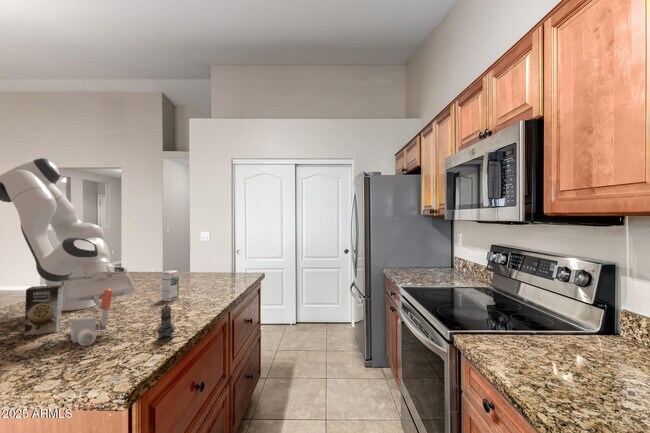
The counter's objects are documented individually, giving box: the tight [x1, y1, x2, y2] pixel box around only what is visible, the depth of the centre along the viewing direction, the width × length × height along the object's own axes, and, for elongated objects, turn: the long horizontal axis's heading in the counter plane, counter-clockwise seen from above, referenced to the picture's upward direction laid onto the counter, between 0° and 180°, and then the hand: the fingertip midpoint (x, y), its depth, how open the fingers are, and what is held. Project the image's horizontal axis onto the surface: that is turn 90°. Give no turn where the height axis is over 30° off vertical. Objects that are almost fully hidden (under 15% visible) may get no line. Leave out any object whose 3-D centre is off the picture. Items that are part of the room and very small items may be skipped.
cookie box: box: [23, 284, 62, 336], centre depth 117 cm, size 9×6×16 cm
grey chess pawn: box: [156, 303, 176, 342], centre depth 111 cm, size 6×6×12 cm
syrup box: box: [161, 269, 180, 302], centre depth 164 cm, size 6×6×14 cm
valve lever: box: [98, 289, 113, 331], centre depth 112 cm, size 3×3×18 cm
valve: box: [70, 316, 100, 347], centre depth 111 cm, size 18×7×6 cm, turn 44°
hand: (103, 307), depth 112 cm, fingers closed, pressing on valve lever
